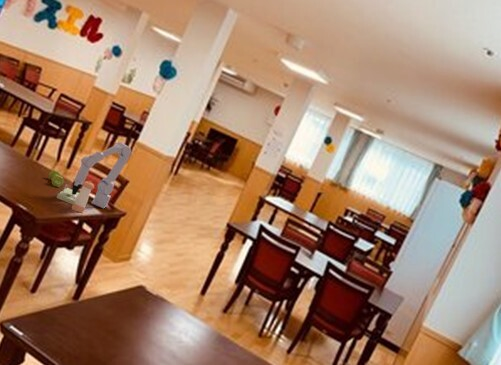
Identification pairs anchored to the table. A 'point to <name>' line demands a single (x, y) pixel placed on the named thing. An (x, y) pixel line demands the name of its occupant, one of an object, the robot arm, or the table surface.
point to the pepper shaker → (83, 196)
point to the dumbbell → (56, 178)
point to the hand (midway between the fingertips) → (73, 194)
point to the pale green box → (67, 195)
